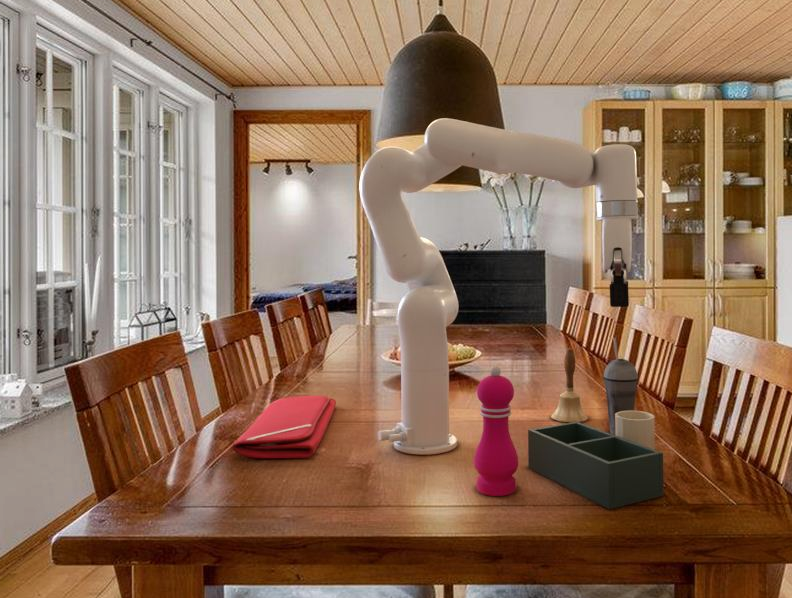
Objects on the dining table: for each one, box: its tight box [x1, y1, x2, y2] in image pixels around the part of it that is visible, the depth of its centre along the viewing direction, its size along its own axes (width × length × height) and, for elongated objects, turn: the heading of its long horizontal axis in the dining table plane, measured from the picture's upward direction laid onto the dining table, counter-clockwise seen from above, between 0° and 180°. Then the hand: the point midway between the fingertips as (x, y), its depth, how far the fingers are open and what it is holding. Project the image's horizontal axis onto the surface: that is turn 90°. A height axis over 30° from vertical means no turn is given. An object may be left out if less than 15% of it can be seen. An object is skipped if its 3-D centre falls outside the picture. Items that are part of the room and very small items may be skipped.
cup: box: [615, 410, 656, 450], centre depth 118 cm, size 7×7×9 cm
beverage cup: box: [602, 337, 639, 435], centre depth 139 cm, size 7×7×20 cm
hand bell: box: [550, 348, 589, 423], centre depth 151 cm, size 8×8×16 cm
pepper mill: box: [473, 365, 519, 497], centre depth 107 cm, size 7×7×20 cm
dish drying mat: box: [232, 394, 337, 459], centre depth 143 cm, size 16×41×4 cm, turn 5°
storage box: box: [527, 422, 665, 510], centre depth 111 cm, size 11×21×7 cm, turn 28°
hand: (619, 304), depth 122 cm, fingers open, 9 cm apart
